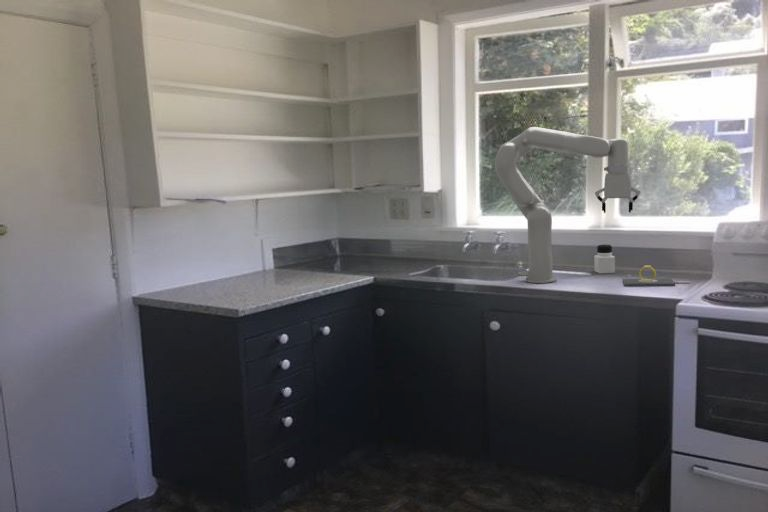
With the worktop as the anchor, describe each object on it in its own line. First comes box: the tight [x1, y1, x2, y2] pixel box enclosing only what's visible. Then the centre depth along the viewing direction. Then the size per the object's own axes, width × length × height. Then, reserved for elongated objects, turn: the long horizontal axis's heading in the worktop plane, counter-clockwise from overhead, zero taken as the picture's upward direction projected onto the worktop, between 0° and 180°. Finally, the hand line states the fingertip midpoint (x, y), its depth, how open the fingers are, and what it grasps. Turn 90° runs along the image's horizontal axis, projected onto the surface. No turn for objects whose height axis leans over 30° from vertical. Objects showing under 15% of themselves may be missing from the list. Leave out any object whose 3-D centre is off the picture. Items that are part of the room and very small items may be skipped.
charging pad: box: [622, 277, 692, 287], centre depth 264 cm, size 24×12×1 cm, turn 74°
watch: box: [638, 265, 657, 281], centre depth 264 cm, size 6×3×6 cm, turn 60°
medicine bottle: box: [593, 244, 616, 275], centre depth 297 cm, size 7×7×12 cm
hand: (617, 212), depth 275 cm, fingers open, 9 cm apart
